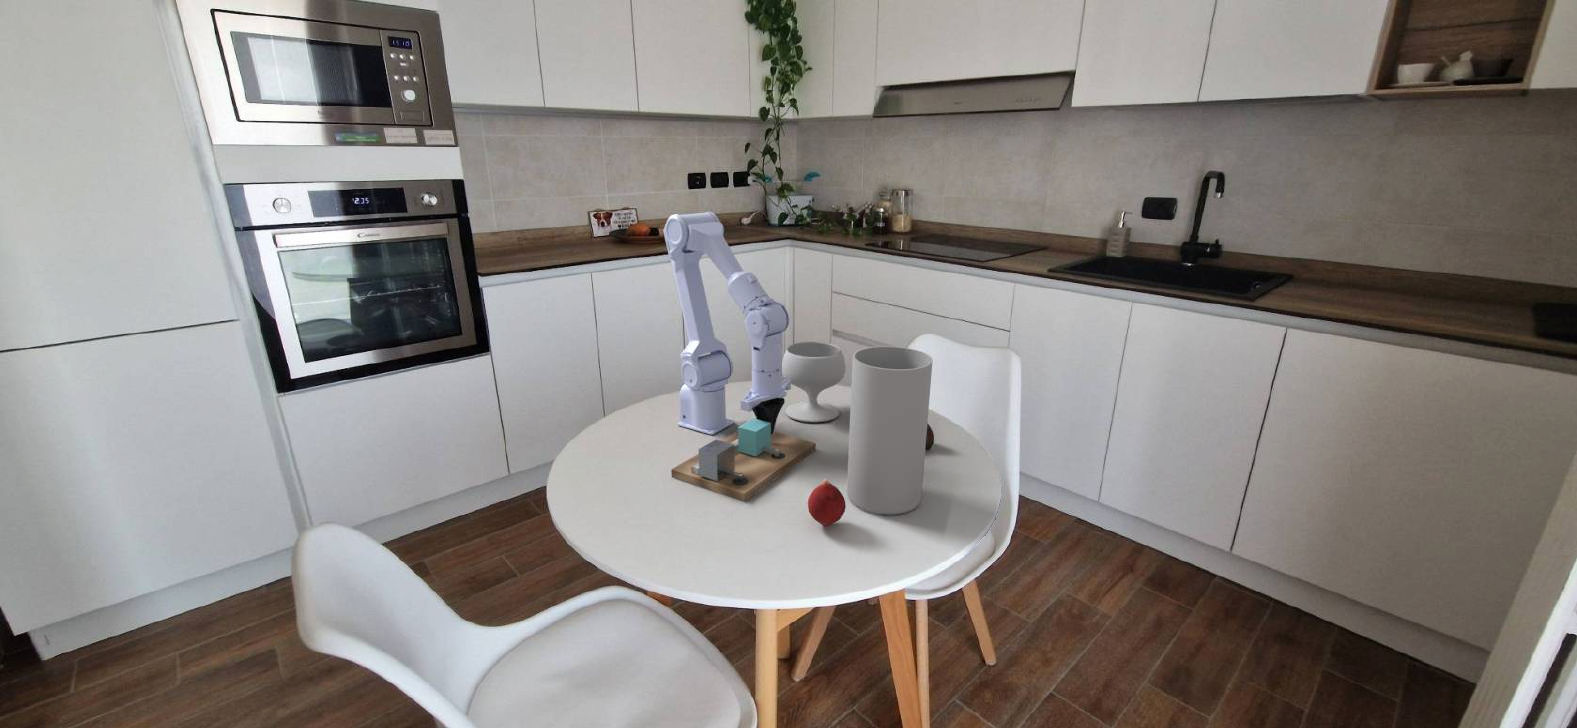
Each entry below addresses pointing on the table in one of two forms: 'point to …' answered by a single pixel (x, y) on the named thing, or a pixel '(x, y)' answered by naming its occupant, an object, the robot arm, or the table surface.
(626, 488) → the table surface
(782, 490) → the table surface
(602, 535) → the table surface
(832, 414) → the chalice
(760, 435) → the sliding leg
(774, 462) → the board
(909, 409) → the cylinder vase
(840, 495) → the onion
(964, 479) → the table surface
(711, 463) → the fixed leg
